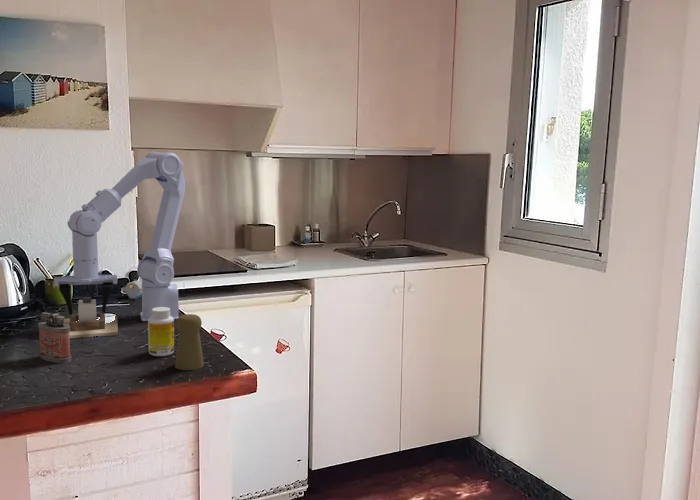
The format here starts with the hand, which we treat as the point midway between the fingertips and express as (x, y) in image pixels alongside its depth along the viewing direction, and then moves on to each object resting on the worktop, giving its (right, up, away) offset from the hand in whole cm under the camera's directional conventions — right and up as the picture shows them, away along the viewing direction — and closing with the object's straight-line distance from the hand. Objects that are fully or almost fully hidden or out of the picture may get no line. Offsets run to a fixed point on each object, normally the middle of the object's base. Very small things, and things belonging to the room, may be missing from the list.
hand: (87, 312), depth 167 cm
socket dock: (0, -4, +1) cm, 4 cm away
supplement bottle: (+23, -8, -17) cm, 30 cm away
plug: (0, -3, 0) cm, 3 cm away
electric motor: (+1, +1, +33) cm, 34 cm away
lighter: (+2, -8, -23) cm, 24 cm away
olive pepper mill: (+31, -9, -25) cm, 41 cm away
